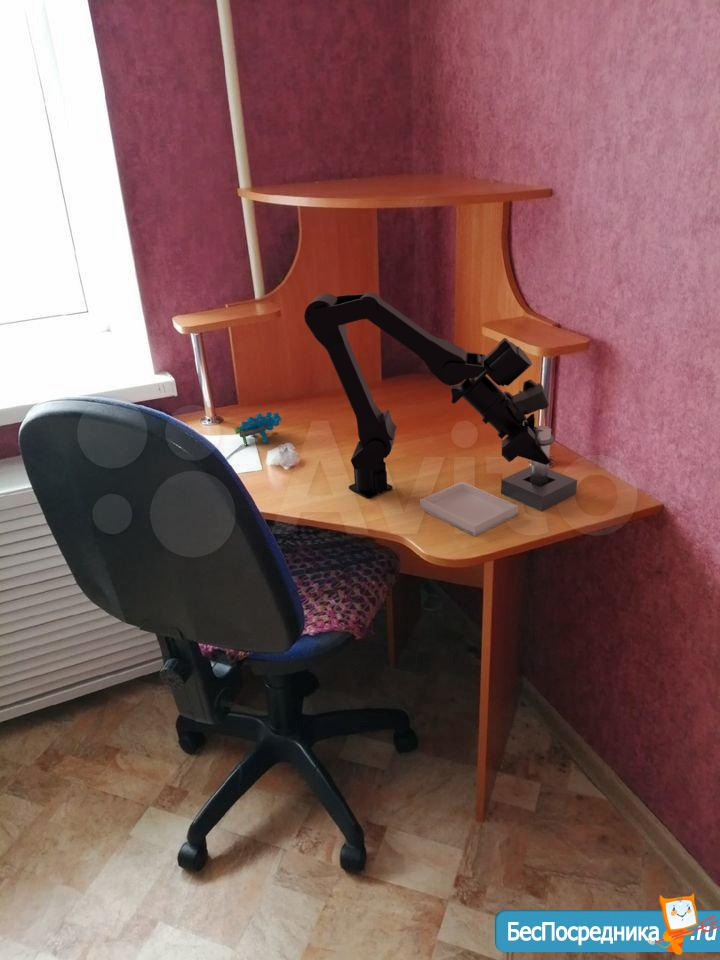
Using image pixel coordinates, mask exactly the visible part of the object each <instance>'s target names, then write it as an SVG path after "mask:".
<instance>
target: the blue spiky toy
mask: <svg viewBox="0 0 720 960" xmlns="http://www.w3.org/2000/svg"><path fill="white" fill-rule="evenodd" d="M282 420H283V419H282V417H281V416H280V415H279V413H278V412H274V413H273V414H272V411H268V412H265V416H263V415H262V413H261V412H259V413H257V414H255V417H253V416H249V417H247V418H246V421H241V422H240V426H235V427H234V432H235V434H236V435H238V434H239V437H240V438H242V442H243V443H244V445H245V444H248V445H249V443H248V440H247V437H249V436H254V435H257V434H259V435H261V438H262V441H263V444H264V443H265V444H268V443H269V441H268V436H267V434H266V431H270V432H271V431H272V430H273V429H274V427H278V426H280V422H282Z"/></svg>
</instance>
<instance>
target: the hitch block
mask: <svg viewBox="0 0 720 960" xmlns="http://www.w3.org/2000/svg"><path fill="white" fill-rule="evenodd" d="M530 477H531V466H529V467H525V468H524V469H521V470H519V471H518V472H516V473H513V474H511V475H508V476H506V477H504V478H502V479H501V482H500V494H501V495H503V496H506V497H508V498H510V499H513V500H516V501H517V502H520V503H522V504H525V506H528V507H531V508H534V509H535V510H537V511H540V512H543V511H545V510H547V509H549V508H551V507H553V506H556V505H557V504H560V503H561V502H564V501H565V500H567V499H569V498H571V497H574V496H575V495H577V488H578V479H576V478H573V477H571V476H567V475H565V474H563V473H560V472H557V471H554V470H552V469H550V468H548V482H547V484H546V485H544V486H542V487H539V486H537V485H534V484H532V483H530Z"/></svg>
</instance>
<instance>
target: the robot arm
mask: <svg viewBox="0 0 720 960" xmlns="http://www.w3.org/2000/svg"><path fill="white" fill-rule="evenodd" d="M303 318H304V322H305V324H306V326H307V328H308V329H309V330H310V332H311V334H312V335H313V337H314V338H315V340H316V341H318V343H319V344H320V345H322V347H323V348H324V349H325V350H326V351H327V354H328V356H329V358H330V360H331V363H332V366H333V367H334V370H335V373H336V375H337V377H338V379H339V381H340V383H341V386H342V388H343V390H344V393H345V395H346V397H347V400H348V402H349V404H350V407H351V409H352V412H353V413H354V415H355V418H356V426H357V427H356V428H357V435H358V439H359V441H358V442H357V443H356V446H355V449H354V451H353V454H352V456H351V457H350V458H351V459H350V463H351V465H352V468H353V475H354V483H353V484H350V485H348V489H349V490H351V491H353V492H354V493H357V494H358V495H361V496H362V497H364V498H366V499H372V498H374V497H376V496H378V495H381V494H384V493H386V492H389V491H390V490H393V487H394V486H393V485H391V484H389V483H388V472H387V467H386V466H387V464H386V462H385V459H387V457H388V456H389V455H390V453H391V452H392V448H393V445H394V443H395V442H394V441H395V439H396V430H397V429H398V428H397V425H396V424H395V423H394V422H393V420H392V416H391V412H390V410H389V409H388V410H385V411H383V412H382V411H381V409H380V408H379V407H378V406H377V405H376V402H375V400H374V398H373V396H372V393H371V391H370V388H369V386H368V384H367V381H366V378H365V376H364V374H363V372H362V368H361V367H360V365H359V363H358V362H359V361H358V360H357V357H356V355H355V353H354V350H353V348H352V346H351V344H350V341H349V338H348V332H347V324H349V323H354V322H358V321H361V320H367V321H369V322H370V323H372V324H374V325H375V326H376V327H377V328H379V329H380V330H382V331H383V332H385V333H386V335H389V336H390V337H391V338H393V339H394V340H396V341H397V342H398V343H400V344H401V345H403V346H404V347H405V348H407V349H408V350H409V351H411V352H412V353H413V354H415V355H417V356H418V358H420V359H421V361H422V362H423V363H424V364H425V366H426V367H427V369H428V370H429V371H430V372H431V373H432V374H433V375H434V376H435V377H436V378H437V380H439V381H440V382H441V383H442V384H443V385H446V386H449V387H450V386H451V387H450V391H451V403H452V404H453V405H455V404H456V403H458V401H459V400H460V399H461V398H463V399H464V400H465V401H466V402H467V403H468V404H469V405H470V406H471V407H472V408H473V409H474V410H475V411H476V412H477V413H478V414H480V416H481V417H482V418H481V421H482V422H483V423H484V424H488V423H489V424H490V426H492V427H493V428H494V429H495V430H496V431H497V437H499V438H500V439H501V456H502V457H503V458H504V459H505V460H506V461H507V462H509V463H510V462H512V461H513V460H515V458H518V457H519V458H524V459H526V460H530V461H531V460H532V461H536V462H539V463H542V464H545V465H547V464H549V465H550V463H551V459H550V457H549V458H548V456H547V455H546V453H545V452H544V451H543V449H542V448H541V447H540V445H539V444H538V443H537V441H536V429H534V430H533V428H534V427H535V423H536V417H535V416H536V415H535V412H537V411H540V410H546V409H547V408H549V406H550V403H549V398H548V395H547V393H546V391H545V388H544V386H543V385H542V384H541V383H540V382H538V383H536V382H535V381H533V380H532V379H531V378H530V379H527V380H526V381H525V380H524V381H523V382H522V390H519V391H518V393H516V394H514V395H512V394H511V393H510V392H509V391H507V390H505V391H502V390H501V389H500V386H501V387H504V386H507V387H508V386H510V385H512V383H514V381H516V379H518V378H519V377H520V376H521V375H522V374H524V372H526V371H527V370H528V369H529V368H530V367H531V366H532V365H533V361H531V359H530V358H529V356H528V355H527V354H526V352H524V350H523V349H522V348H521V347H520V346H519V345H518V346H517V345H516V344H515V343H513V342H512V341H510V340H509V339H507V337H503V338H502V339H501V340H500V341H499V343H498V344H497V345H496V346H495V347H494V348H493V349H492V350H491V351H490V352H489V353H488V354H487V355H486V354H485V353H484V354H483V353H476V352H469V351H466V349H464V348H463V347H461V346H458V345H456V344H455V343H452V342H450V341H448V340H446V339H442V338H439V337H436V336H434V335H432V334H431V333H430V332H427V331H426V330H425V329H424V328H422V327H421V326H419V325H418V324H417V323H415V322H414V321H413V320H412V319H410V318H408V316H405V314H403V313H402V312H400V311H399V310H397V309H396V308H394V307H393V306H392V305H390V304H389V303H387V302H386V301H385V300H384V299H382V298H381V297H380V296H379V294H377V293H376V292H373V291H369V292H365V293H358V294H357V293H356V294H354V293H353V294H343V295H337V296H336V295H333V294H331V293H326V292H325V293H321V294H318V295H317V296H315V298H314V299H313V300H312V301H311V302H310V303H309V304H308V306H307V307H306V308H305V311H304V314H303ZM498 386H499V387H498ZM529 414H530V415H529ZM528 415H529V416H528ZM503 438H504V439H503Z"/></svg>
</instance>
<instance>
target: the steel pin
mask: <svg viewBox="0 0 720 960" xmlns="http://www.w3.org/2000/svg"><path fill="white" fill-rule="evenodd" d="M534 429H536V441H537V443H538V444H539V445H540V447H541V448H542V449H543V451H544V452H545V453H546V455H547V456H548V458H549V459H550V452H551V451H550V450H551V445H552V444H554V442H555V441H554V440H555V436H554V435H553V434H552V428H551V427H550V426H547V425H537V426H534V428H533V430H534ZM549 465H550V463H549V464H547V465H545V464H542V463H539V462H536V461H532V460H530V467H531V477H530V483H532V484H534V485H537V486H539V487H542V486H544V485H546V484H547V482H548V469H550V468H549Z"/></svg>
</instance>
